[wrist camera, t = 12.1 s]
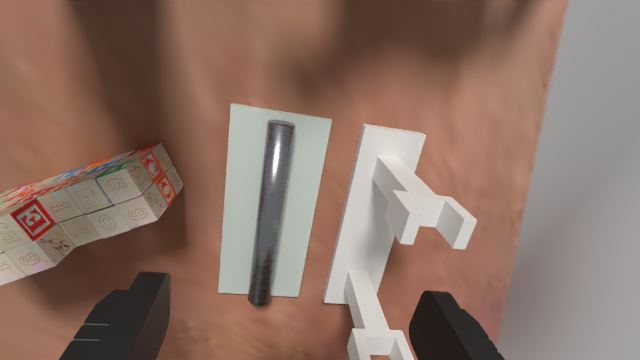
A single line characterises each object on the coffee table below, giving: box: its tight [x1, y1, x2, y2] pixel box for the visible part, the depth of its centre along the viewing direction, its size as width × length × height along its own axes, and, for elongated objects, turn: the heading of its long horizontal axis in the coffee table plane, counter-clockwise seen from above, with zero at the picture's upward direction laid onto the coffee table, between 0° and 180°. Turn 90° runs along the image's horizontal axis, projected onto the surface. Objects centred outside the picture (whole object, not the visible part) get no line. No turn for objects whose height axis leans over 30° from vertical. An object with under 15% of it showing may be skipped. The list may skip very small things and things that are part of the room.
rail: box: [248, 120, 295, 306], centre depth 41 cm, size 26×3×3 cm, turn 170°
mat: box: [218, 103, 332, 297], centre depth 43 cm, size 12×28×1 cm, turn 170°
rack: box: [323, 124, 477, 360], centre depth 38 cm, size 8×28×16 cm, turn 170°
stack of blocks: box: [0, 143, 184, 286], centre depth 34 cm, size 21×6×12 cm, turn 107°
